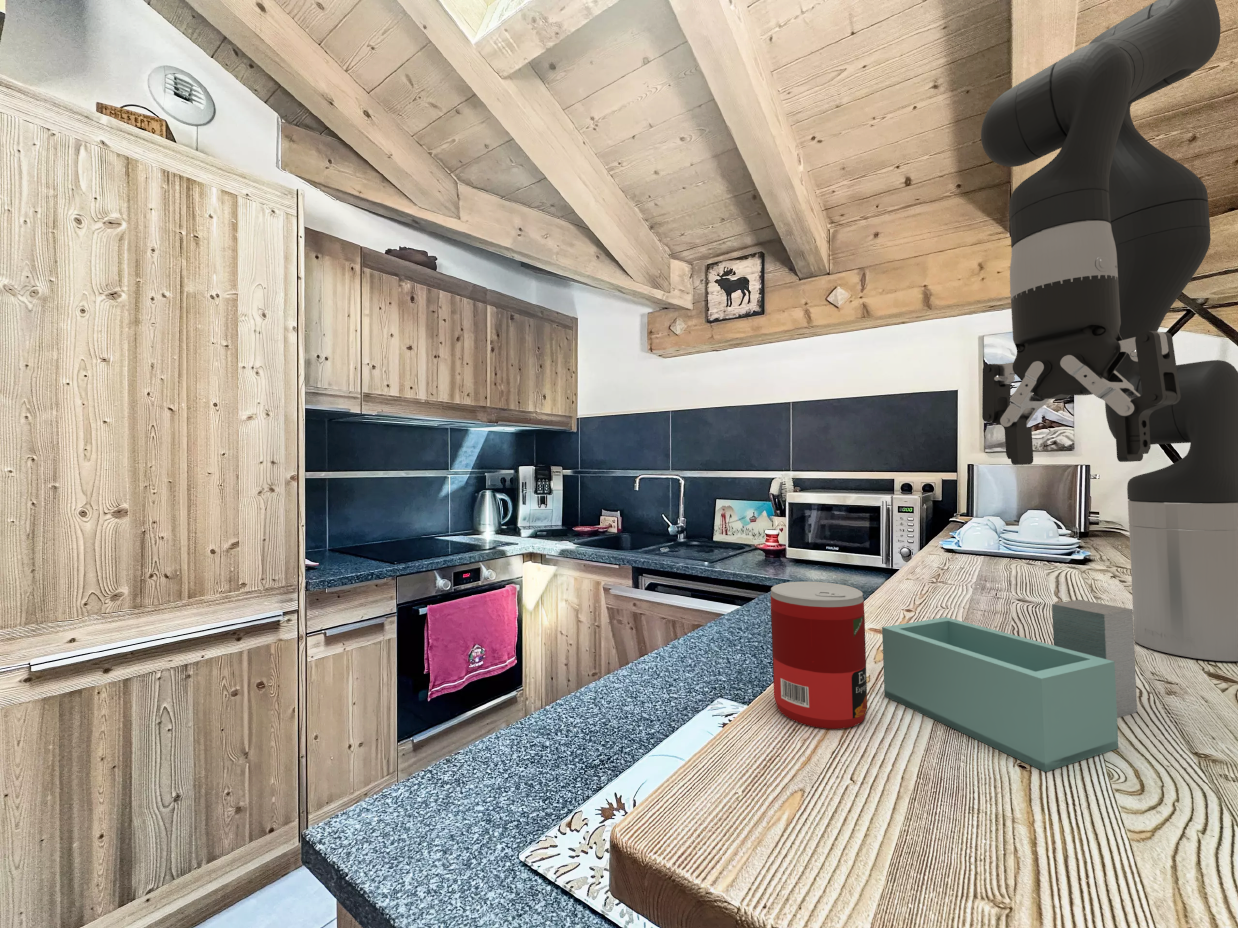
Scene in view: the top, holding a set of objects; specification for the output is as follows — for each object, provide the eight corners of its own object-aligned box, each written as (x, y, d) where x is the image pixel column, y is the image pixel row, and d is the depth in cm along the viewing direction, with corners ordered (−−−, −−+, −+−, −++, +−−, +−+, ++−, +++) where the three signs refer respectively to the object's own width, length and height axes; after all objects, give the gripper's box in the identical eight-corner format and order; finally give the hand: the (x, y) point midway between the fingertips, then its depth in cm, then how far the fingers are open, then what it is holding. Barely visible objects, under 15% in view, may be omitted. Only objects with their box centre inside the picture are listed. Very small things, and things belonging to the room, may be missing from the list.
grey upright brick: (1083, 694, 50) (1079, 599, 50) (1137, 712, 46) (1132, 609, 46) (1056, 701, 48) (1052, 603, 49) (1109, 720, 45) (1104, 614, 45)
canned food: (878, 734, 43) (873, 600, 43) (778, 727, 45) (774, 598, 45) (856, 695, 51) (852, 581, 51) (770, 690, 52) (767, 580, 53)
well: (948, 682, 53) (945, 616, 53) (1118, 748, 40) (1114, 661, 40) (884, 695, 50) (882, 627, 51) (1045, 771, 37) (1041, 678, 37)
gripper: (1190, 260, 43) (1202, 459, 42) (1009, 312, 56) (1017, 464, 56) (1134, 251, 40) (1146, 462, 40) (958, 308, 54) (967, 466, 53)
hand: (1071, 463), depth 48 cm, fingers open, 8 cm apart
